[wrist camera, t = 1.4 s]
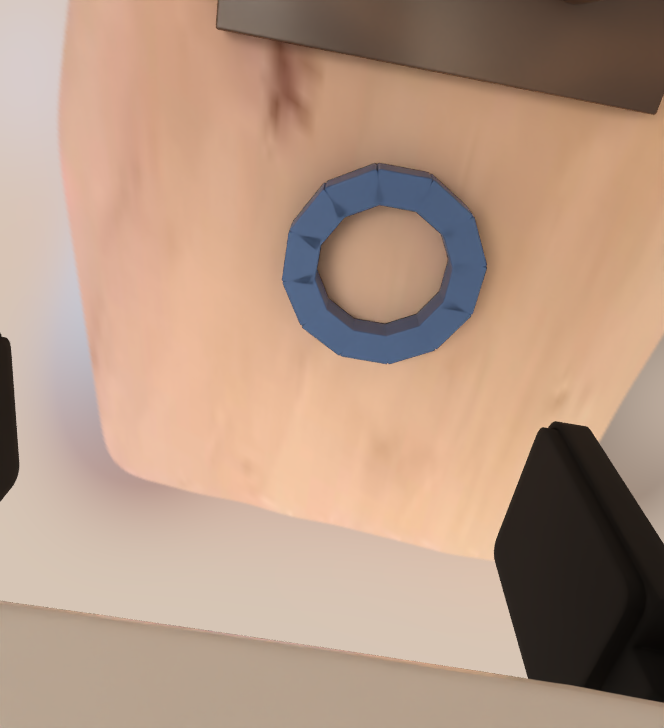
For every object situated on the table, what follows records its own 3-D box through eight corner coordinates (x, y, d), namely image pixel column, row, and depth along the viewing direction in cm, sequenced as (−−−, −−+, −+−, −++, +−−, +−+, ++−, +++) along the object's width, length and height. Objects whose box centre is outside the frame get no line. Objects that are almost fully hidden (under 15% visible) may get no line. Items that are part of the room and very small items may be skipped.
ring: (302, 148, 28) (299, 153, 27) (502, 185, 29) (510, 193, 27) (276, 332, 33) (272, 345, 31) (449, 362, 33) (453, 376, 32)
